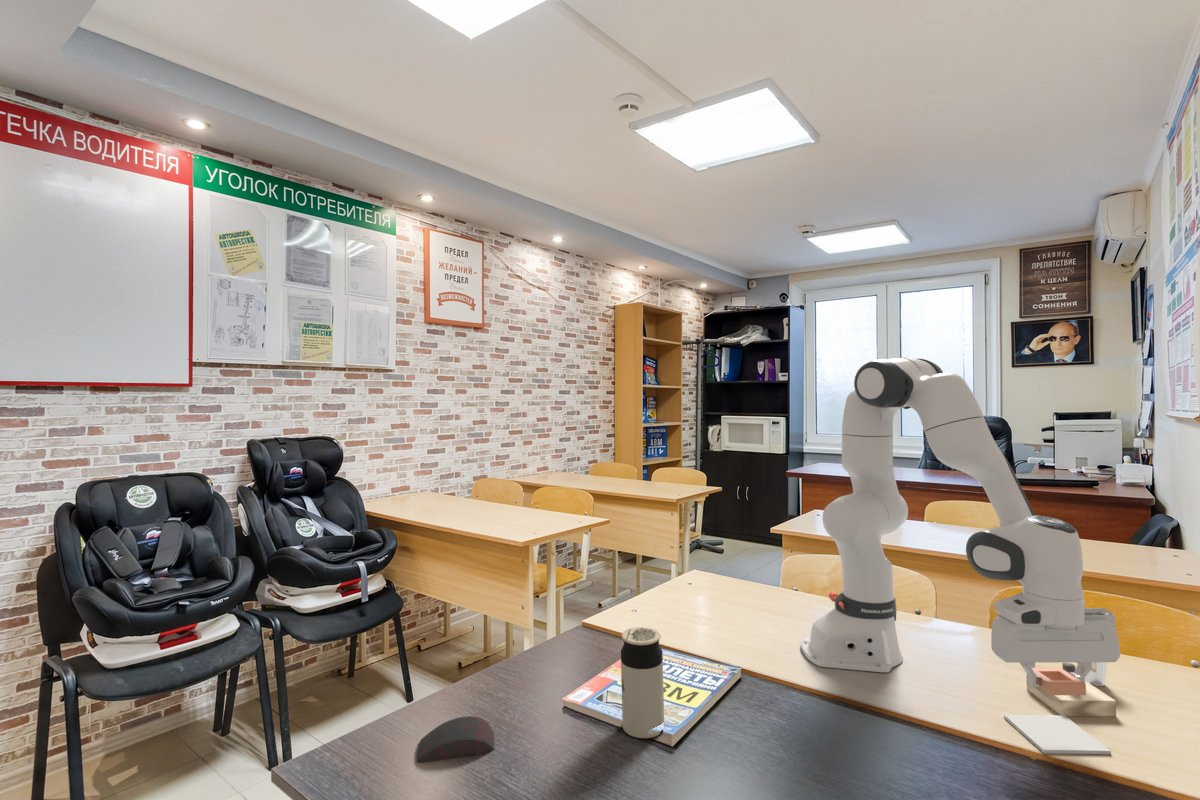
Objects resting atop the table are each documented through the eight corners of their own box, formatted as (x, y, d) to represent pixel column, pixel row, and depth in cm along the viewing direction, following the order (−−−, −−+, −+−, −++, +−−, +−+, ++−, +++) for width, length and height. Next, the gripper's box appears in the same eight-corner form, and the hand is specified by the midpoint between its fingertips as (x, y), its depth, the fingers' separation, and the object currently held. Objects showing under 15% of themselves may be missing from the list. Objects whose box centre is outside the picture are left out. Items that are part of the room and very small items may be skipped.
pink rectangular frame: (1050, 695, 103) (1049, 683, 103) (1027, 678, 109) (1027, 668, 109) (1086, 695, 103) (1085, 683, 103) (1061, 678, 109) (1061, 668, 109)
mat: (1043, 753, 101) (1043, 749, 101) (1004, 717, 112) (1004, 714, 112) (1110, 754, 100) (1110, 750, 100) (1064, 718, 111) (1064, 715, 111)
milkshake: (1118, 689, 121) (1117, 641, 121) (1088, 687, 123) (1088, 639, 122) (1104, 678, 126) (1103, 632, 126) (1075, 676, 127) (1075, 631, 127)
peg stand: (1061, 715, 112) (1060, 676, 112) (1026, 689, 122) (1026, 653, 122) (1116, 716, 112) (1115, 677, 112) (1077, 689, 122) (1076, 653, 122)
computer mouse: (495, 756, 105) (494, 733, 105) (416, 767, 103) (415, 745, 103) (493, 730, 113) (493, 710, 113) (420, 741, 110) (419, 720, 110)
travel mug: (668, 719, 115) (666, 628, 114) (659, 743, 107) (656, 645, 107) (629, 713, 117) (626, 624, 117) (617, 736, 110) (614, 640, 110)
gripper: (1100, 601, 108) (1103, 676, 108) (984, 602, 110) (987, 676, 110) (1128, 614, 102) (1131, 693, 102) (1005, 615, 104) (1008, 693, 104)
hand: (1055, 684), depth 106 cm, fingers closed on pink rectangular frame, 6 cm apart
